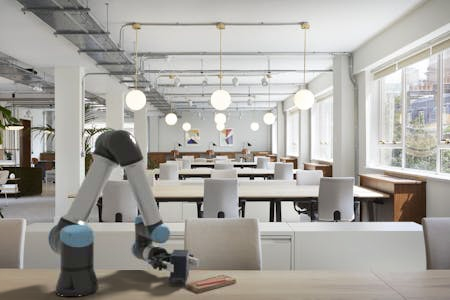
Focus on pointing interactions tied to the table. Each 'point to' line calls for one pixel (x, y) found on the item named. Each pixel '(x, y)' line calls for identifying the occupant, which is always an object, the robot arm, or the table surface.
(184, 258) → the small box
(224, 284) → the wooden board
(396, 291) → the table surface
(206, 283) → the carpenter pencil
